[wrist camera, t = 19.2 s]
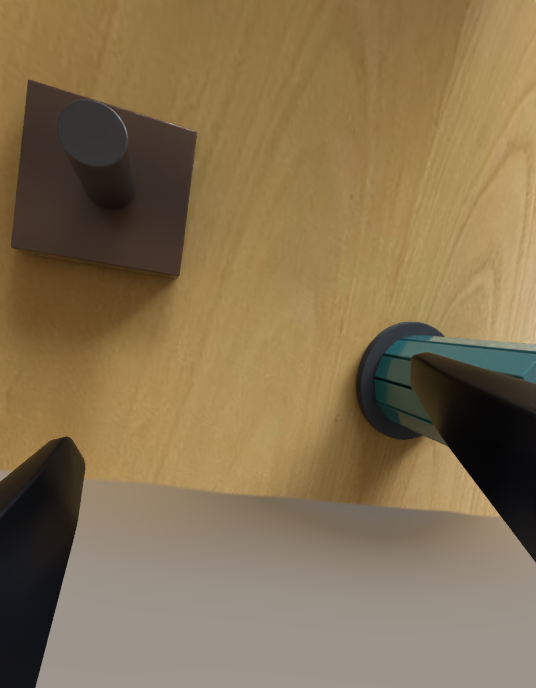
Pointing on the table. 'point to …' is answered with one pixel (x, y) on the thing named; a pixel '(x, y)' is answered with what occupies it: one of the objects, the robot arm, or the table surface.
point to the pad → (368, 375)
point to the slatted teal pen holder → (492, 355)
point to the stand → (101, 184)
